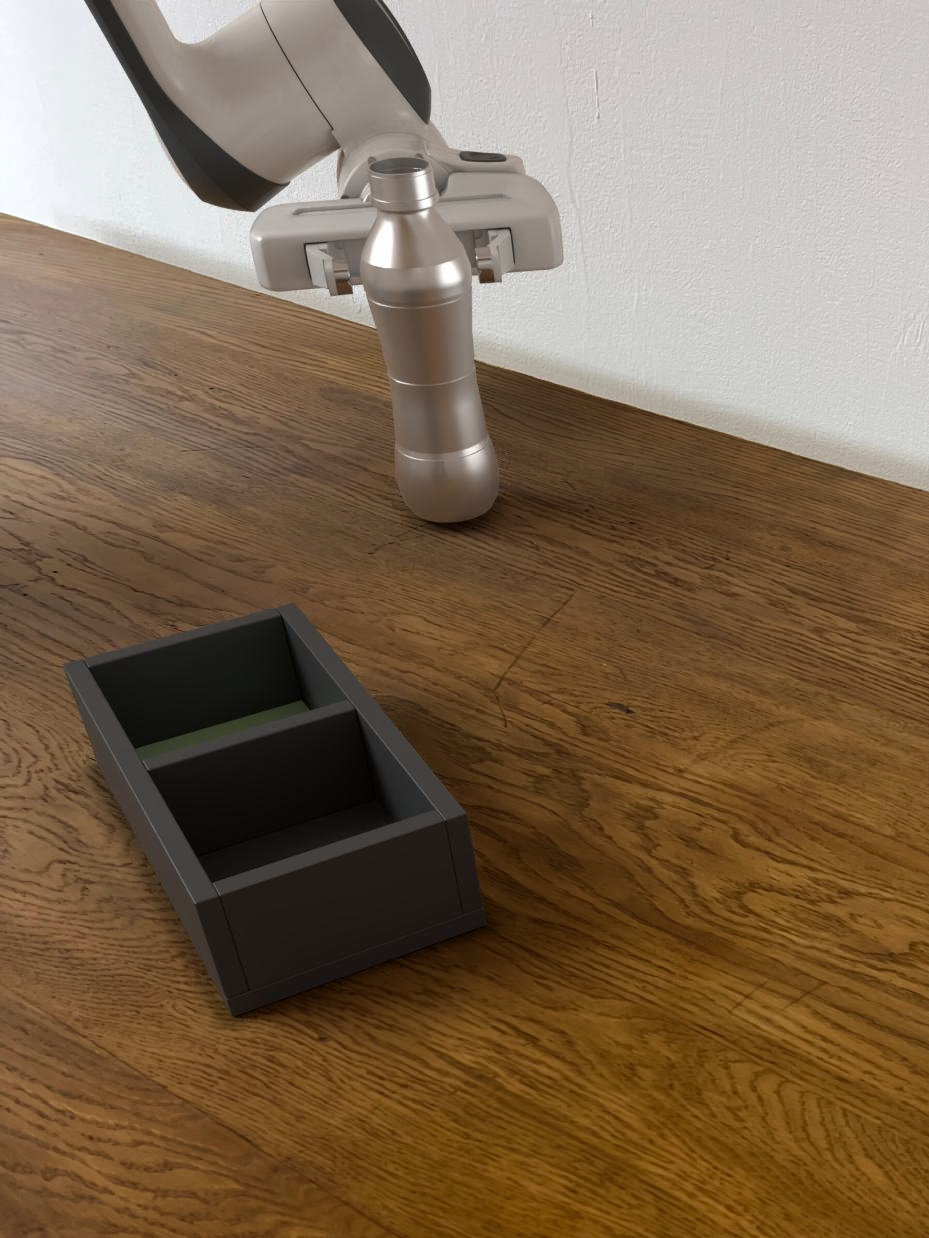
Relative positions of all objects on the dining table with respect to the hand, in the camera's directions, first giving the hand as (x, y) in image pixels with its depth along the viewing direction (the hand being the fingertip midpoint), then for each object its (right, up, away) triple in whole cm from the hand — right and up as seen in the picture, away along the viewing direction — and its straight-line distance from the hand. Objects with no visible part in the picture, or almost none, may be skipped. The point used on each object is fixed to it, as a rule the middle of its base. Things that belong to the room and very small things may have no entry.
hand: (414, 276), depth 100 cm
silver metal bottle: (+2, -15, +1) cm, 15 cm away
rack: (0, -39, -25) cm, 47 cm away
